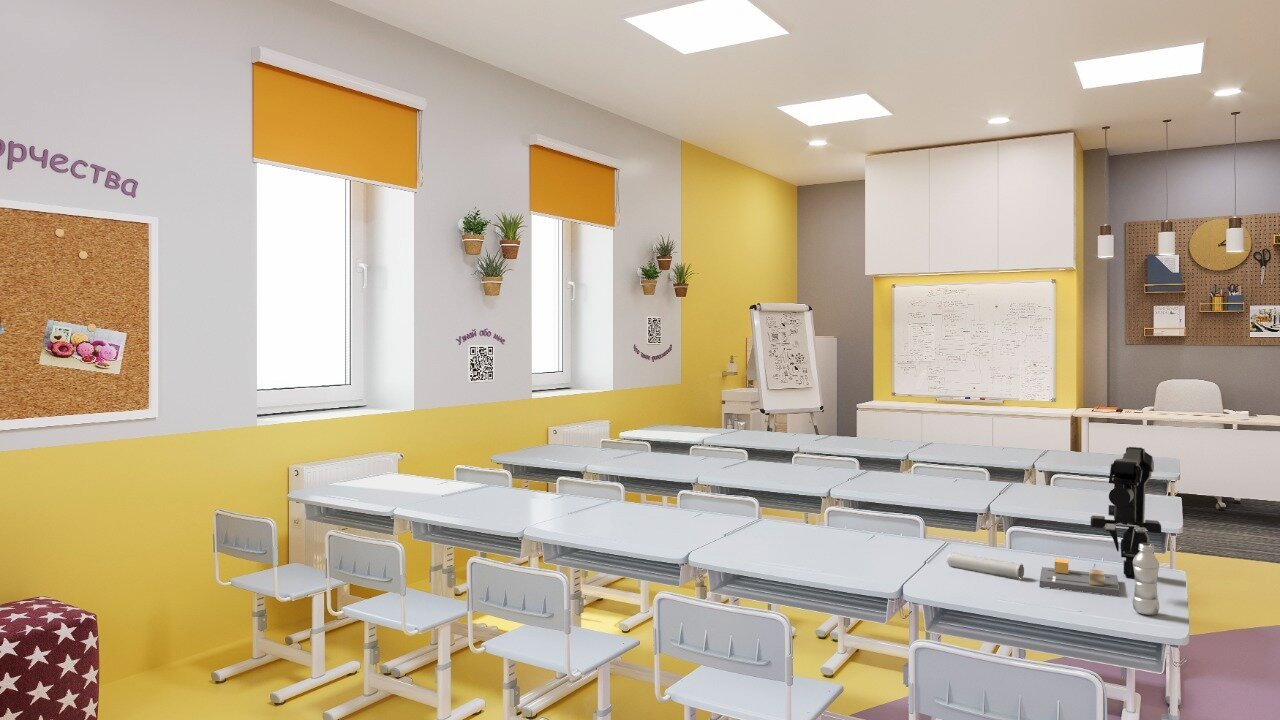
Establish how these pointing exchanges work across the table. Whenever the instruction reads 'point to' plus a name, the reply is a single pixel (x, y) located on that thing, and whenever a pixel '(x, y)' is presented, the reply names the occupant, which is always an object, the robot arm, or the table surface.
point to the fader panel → (1078, 582)
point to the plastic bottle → (1146, 580)
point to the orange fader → (1061, 565)
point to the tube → (986, 565)
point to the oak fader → (1096, 577)
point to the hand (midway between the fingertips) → (1124, 551)
